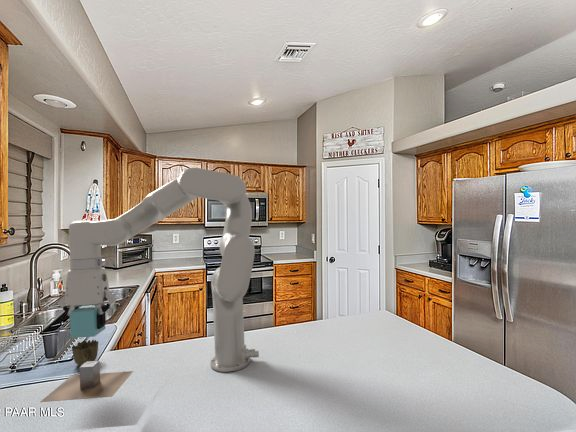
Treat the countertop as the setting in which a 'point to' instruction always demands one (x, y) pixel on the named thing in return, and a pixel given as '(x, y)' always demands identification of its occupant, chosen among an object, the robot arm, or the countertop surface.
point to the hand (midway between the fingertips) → (88, 327)
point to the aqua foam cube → (84, 322)
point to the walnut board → (102, 389)
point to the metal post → (89, 374)
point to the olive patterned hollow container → (85, 351)
